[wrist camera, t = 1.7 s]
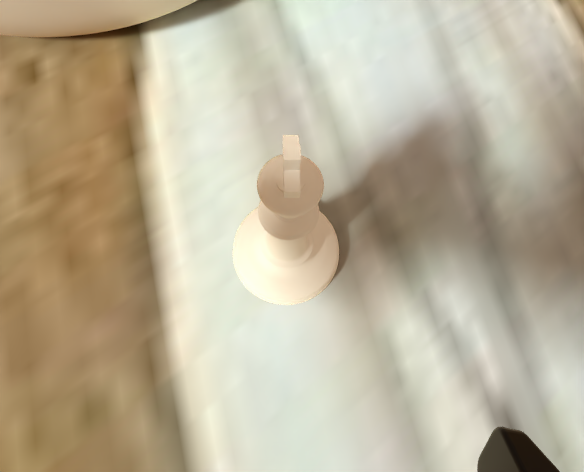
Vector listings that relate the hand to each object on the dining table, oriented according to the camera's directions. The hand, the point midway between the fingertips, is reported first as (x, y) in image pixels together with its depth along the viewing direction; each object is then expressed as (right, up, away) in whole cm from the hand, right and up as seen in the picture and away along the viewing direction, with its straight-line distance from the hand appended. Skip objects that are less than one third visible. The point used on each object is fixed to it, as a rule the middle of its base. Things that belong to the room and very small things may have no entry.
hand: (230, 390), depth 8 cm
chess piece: (+1, +2, +14) cm, 14 cm away
